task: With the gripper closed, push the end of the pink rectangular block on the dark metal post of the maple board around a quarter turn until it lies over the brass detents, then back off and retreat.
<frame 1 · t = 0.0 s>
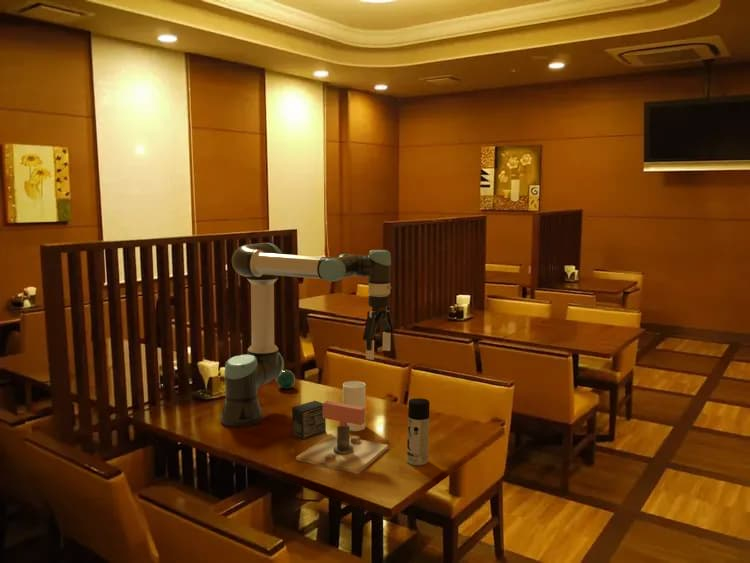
hand: (378, 354, 223), 28 cm above the table, fingers open, 13 cm apart
spray can: (417, 462, 202), on the table
sphere: (285, 388, 275), on the table
small box: (309, 434, 224), on the table
pink rectangular block: (343, 415, 205), point 13 cm above the table, hinge at 0.0°
cup: (353, 427, 231), on the table
post board: (343, 454, 207), on the table
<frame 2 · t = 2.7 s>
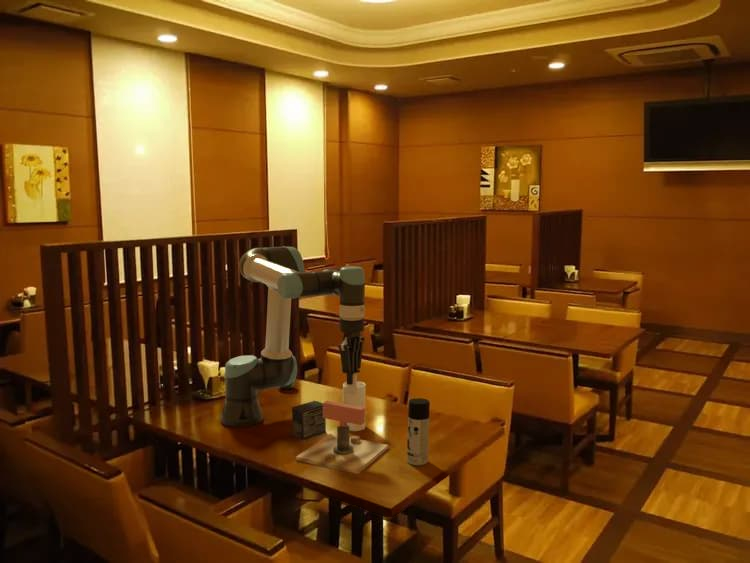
hand: (351, 393, 195), 23 cm above the table, fingers closed
nothing on the table moved.
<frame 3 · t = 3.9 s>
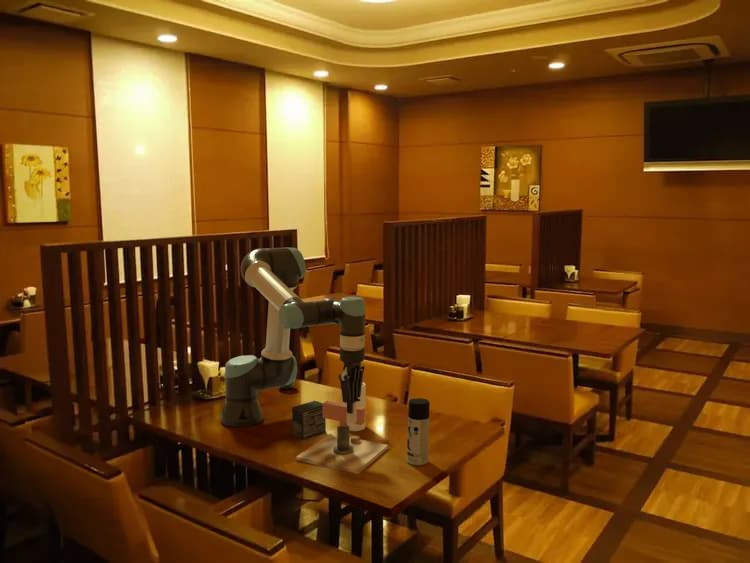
hand: (351, 422, 197), 14 cm above the table, fingers closed
nothing on the table moved.
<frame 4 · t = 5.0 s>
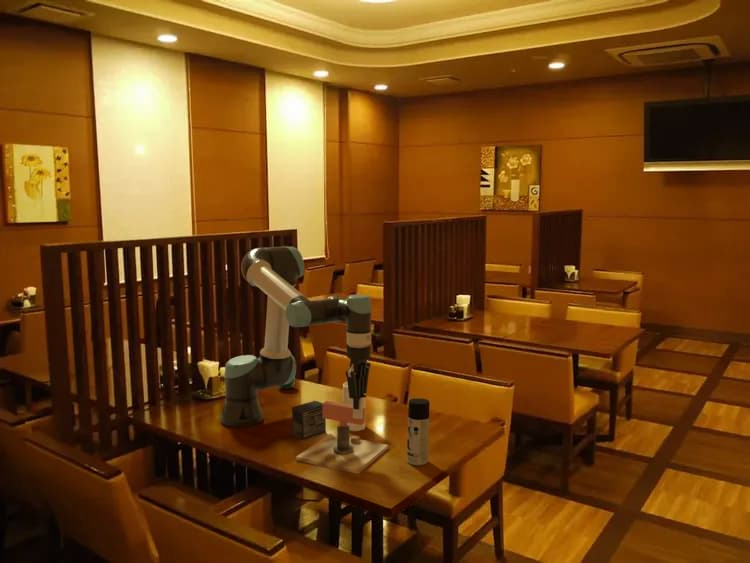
hand: (357, 417, 201), 14 cm above the table, fingers closed
pink rectangular block: (343, 415, 205), point 13 cm above the table, hinge at 0.6°, touching gripper
everything else where it was.
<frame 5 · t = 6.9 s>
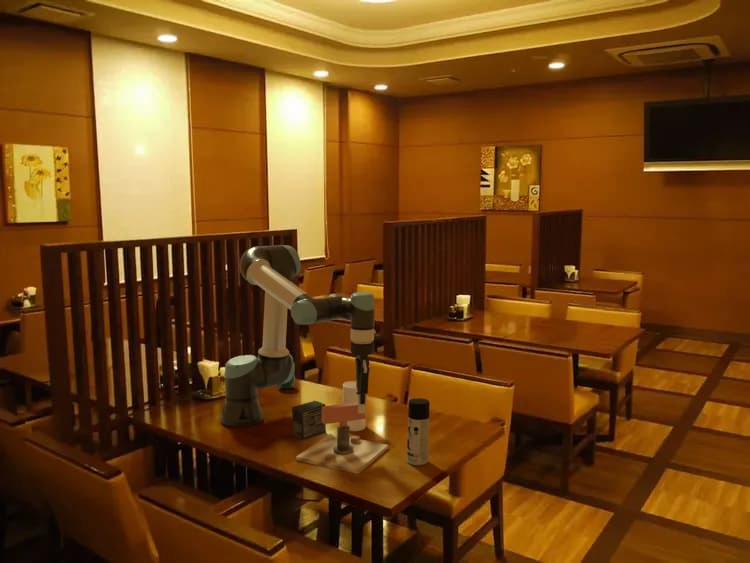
hand: (361, 412, 206), 14 cm above the table, fingers closed
pink rectangular block: (343, 415, 205), point 13 cm above the table, hinge at 48.2°, touching gripper
everything else where it was.
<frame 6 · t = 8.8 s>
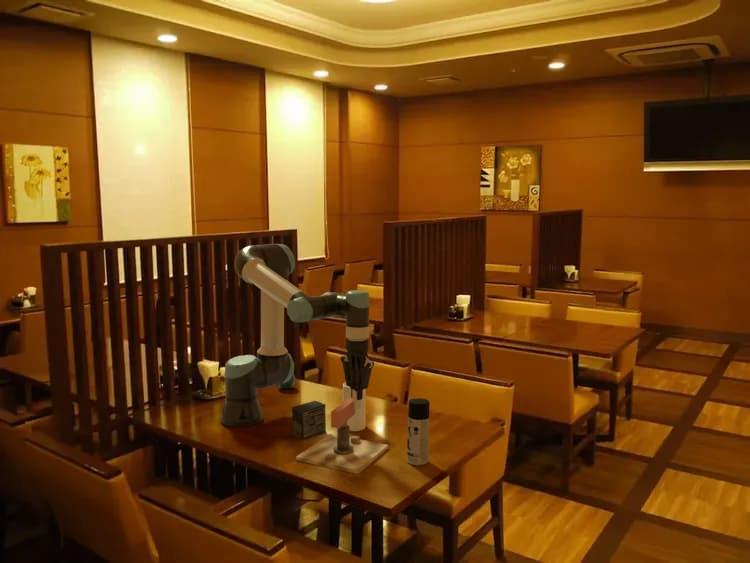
hand: (356, 408, 209), 14 cm above the table, fingers closed
pink rectangular block: (343, 415, 205), point 13 cm above the table, hinge at 95.5°, touching gripper
everything else where it was.
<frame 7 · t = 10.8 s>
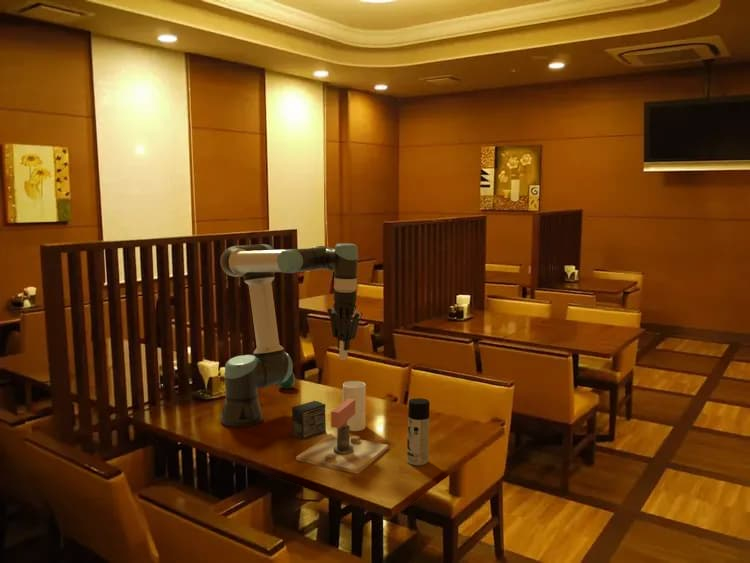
hand: (343, 358, 215), 28 cm above the table, fingers closed
pink rectangular block: (343, 415, 205), point 13 cm above the table, hinge at 95.5°
everything else where it was.
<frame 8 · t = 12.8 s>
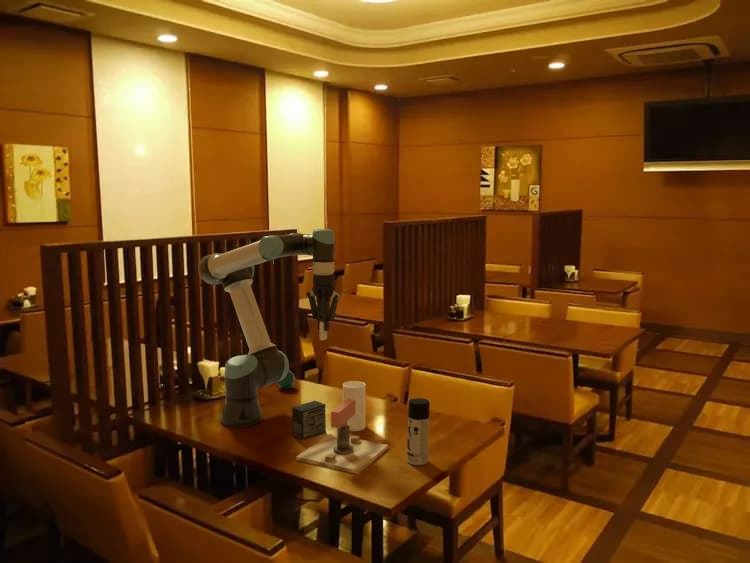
hand: (323, 339, 226), 32 cm above the table, fingers closed
nothing on the table moved.
at the end: pink rectangular block at +96° (first picture: +0°); the gripper is holding nothing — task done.
